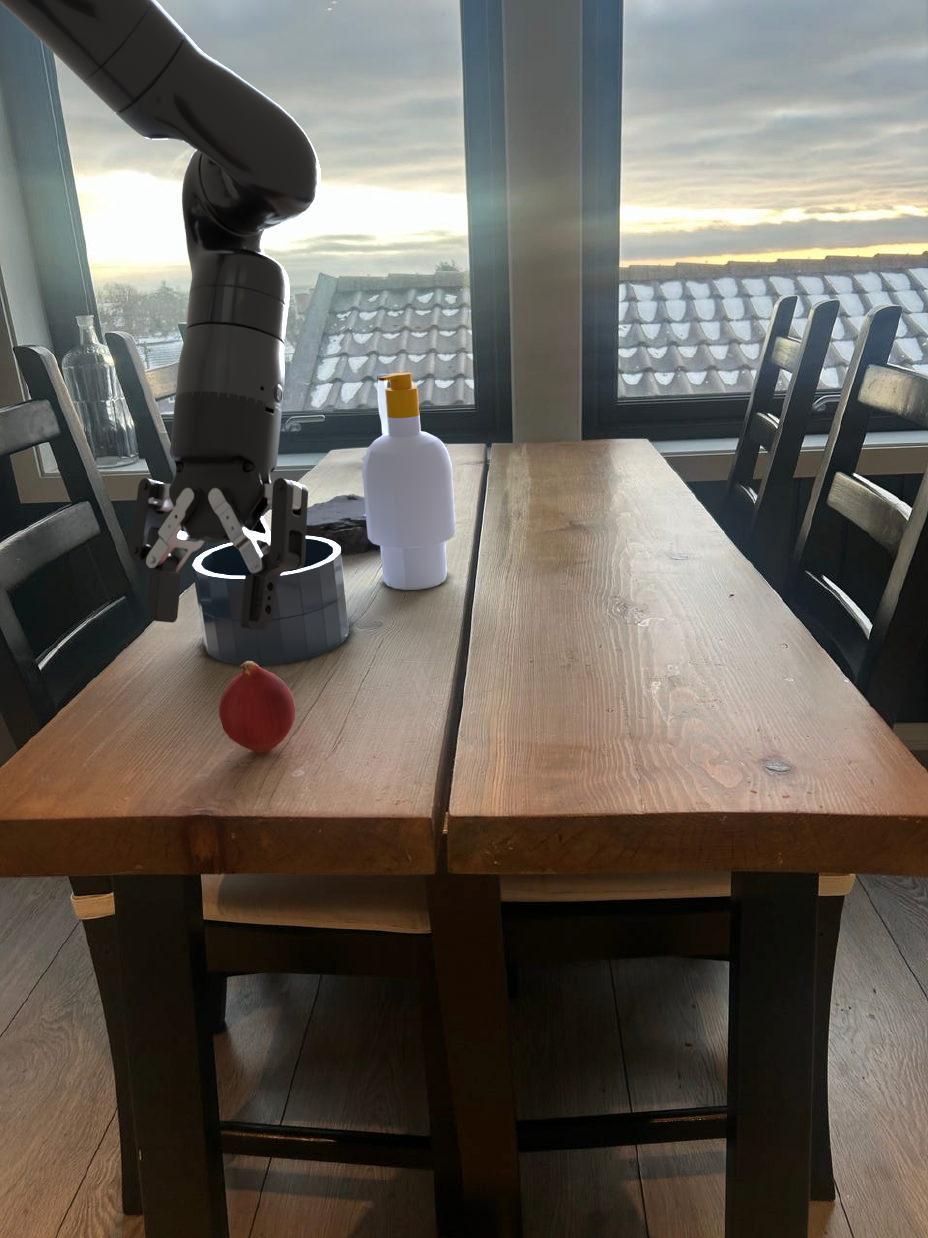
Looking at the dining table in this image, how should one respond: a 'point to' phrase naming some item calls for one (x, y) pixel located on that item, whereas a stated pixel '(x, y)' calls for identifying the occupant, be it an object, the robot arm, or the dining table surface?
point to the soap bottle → (408, 493)
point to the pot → (302, 607)
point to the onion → (257, 709)
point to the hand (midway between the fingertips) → (207, 625)
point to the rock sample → (341, 523)
